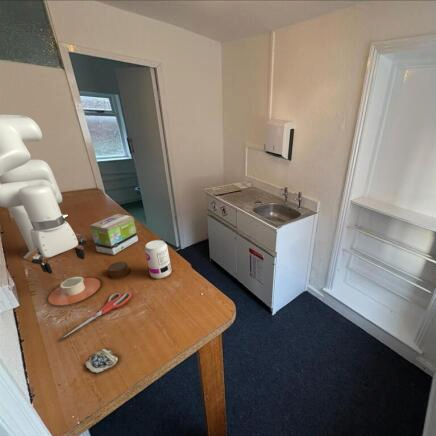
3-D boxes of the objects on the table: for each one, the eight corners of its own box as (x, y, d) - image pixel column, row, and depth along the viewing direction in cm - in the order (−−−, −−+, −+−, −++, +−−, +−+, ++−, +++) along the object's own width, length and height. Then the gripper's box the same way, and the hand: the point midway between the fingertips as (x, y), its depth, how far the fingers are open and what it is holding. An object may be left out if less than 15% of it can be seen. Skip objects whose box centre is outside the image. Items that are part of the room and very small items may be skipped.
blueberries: (100, 348, 70) (98, 343, 69) (125, 351, 69) (123, 347, 68) (79, 370, 63) (77, 366, 63) (107, 374, 63) (105, 370, 62)
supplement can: (150, 281, 97) (143, 251, 90) (150, 270, 103) (144, 241, 97) (172, 276, 100) (166, 247, 94) (171, 266, 107) (166, 237, 101)
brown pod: (106, 275, 98) (103, 268, 96) (122, 267, 104) (119, 259, 102) (117, 280, 96) (114, 272, 94) (132, 271, 102) (130, 264, 100)
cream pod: (60, 292, 87) (56, 284, 86) (79, 282, 93) (76, 274, 91) (70, 298, 85) (67, 290, 84) (90, 287, 91) (87, 279, 89)
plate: (39, 297, 85) (38, 296, 85) (85, 274, 98) (85, 273, 98) (64, 311, 80) (63, 310, 80) (109, 285, 93) (109, 284, 93)
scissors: (60, 338, 71) (58, 335, 71) (117, 292, 90) (116, 289, 90) (81, 344, 70) (79, 340, 70) (135, 295, 89) (134, 292, 89)
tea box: (114, 255, 111) (106, 228, 105) (96, 252, 112) (87, 225, 106) (139, 240, 124) (133, 215, 118) (123, 237, 126) (116, 212, 120)
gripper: (72, 211, 86) (86, 250, 93) (5, 230, 71) (28, 275, 78) (85, 215, 83) (98, 255, 90) (18, 236, 68) (41, 282, 75)
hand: (66, 264), depth 84 cm, fingers open, 9 cm apart
